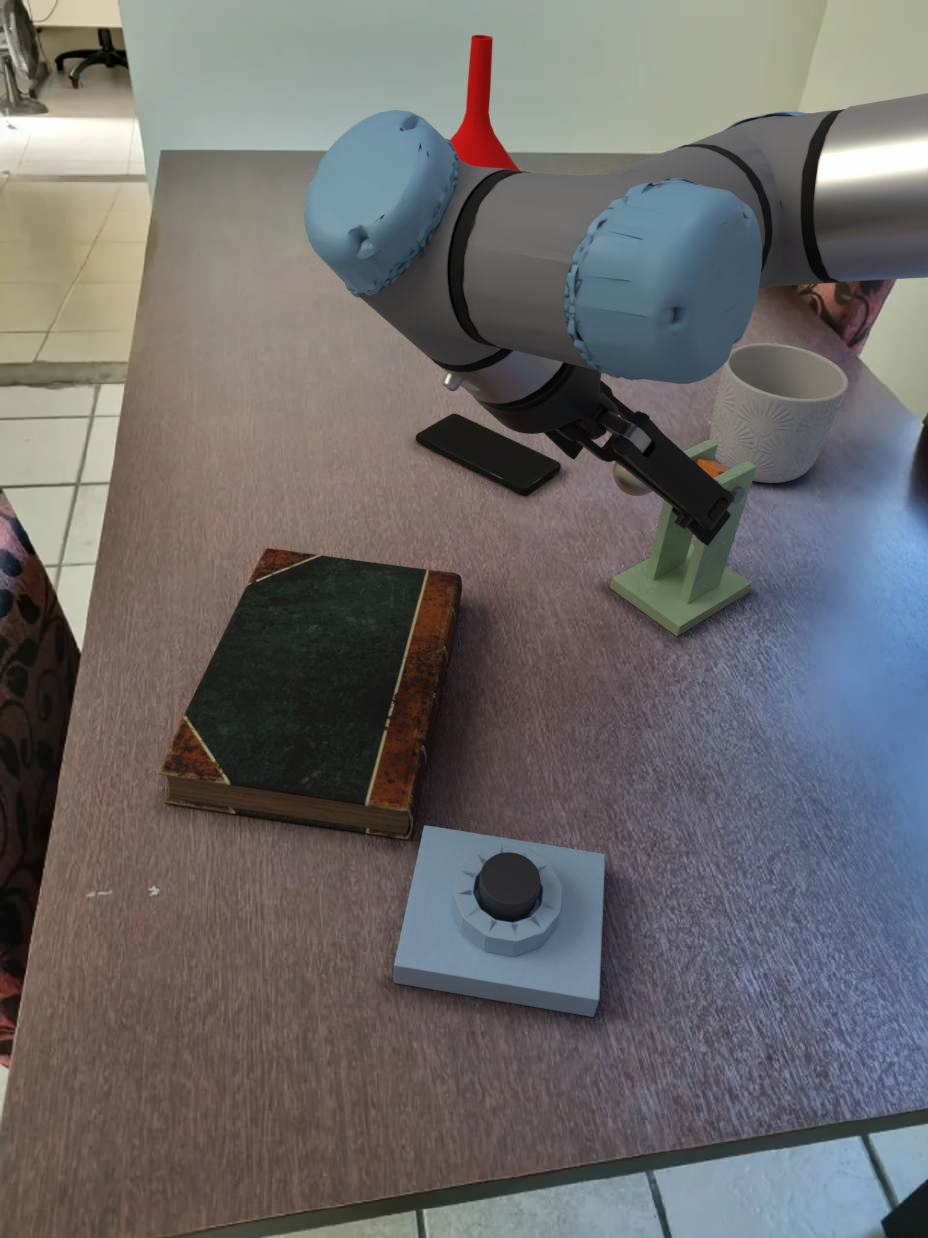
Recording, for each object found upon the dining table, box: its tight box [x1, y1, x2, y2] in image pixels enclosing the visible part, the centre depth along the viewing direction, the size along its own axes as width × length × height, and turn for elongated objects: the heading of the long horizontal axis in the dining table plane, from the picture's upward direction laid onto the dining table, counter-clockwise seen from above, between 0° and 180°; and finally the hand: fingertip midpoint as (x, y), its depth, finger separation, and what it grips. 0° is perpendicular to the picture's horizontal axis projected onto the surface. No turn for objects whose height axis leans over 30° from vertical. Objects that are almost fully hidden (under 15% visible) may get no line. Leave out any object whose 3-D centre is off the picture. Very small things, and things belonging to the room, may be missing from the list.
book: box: [158, 547, 463, 840], centre depth 72 cm, size 17×4×25 cm
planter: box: [708, 342, 849, 484], centre depth 99 cm, size 12×12×11 cm
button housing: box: [393, 824, 606, 1018], centre depth 58 cm, size 12×10×4 cm
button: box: [478, 852, 540, 920], centre depth 56 cm, size 4×4×2 cm
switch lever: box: [612, 459, 730, 497], centre depth 73 cm, size 14×4×4 cm, turn 130°
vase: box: [449, 34, 521, 171], centre depth 125 cm, size 18×18×30 cm
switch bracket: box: [609, 439, 757, 637], centre depth 80 cm, size 10×8×14 cm
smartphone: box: [415, 413, 562, 496], centre depth 99 cm, size 7×1×15 cm
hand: (644, 484), depth 71 cm, fingers open, 13 cm apart
